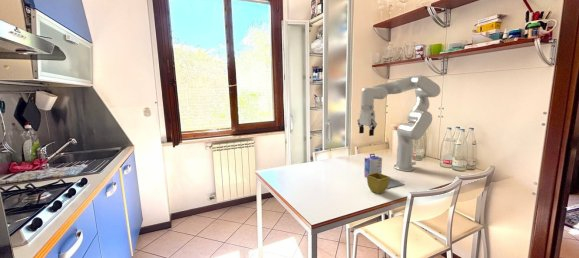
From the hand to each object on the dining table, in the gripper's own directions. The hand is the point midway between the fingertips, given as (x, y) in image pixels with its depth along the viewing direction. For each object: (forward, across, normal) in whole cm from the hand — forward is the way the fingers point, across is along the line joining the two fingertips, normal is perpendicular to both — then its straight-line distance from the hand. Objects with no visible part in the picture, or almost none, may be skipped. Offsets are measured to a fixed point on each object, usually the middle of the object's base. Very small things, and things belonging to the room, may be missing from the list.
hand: (366, 134), depth 161 cm
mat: (+26, -18, 0) cm, 32 cm away
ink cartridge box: (+26, -7, 0) cm, 27 cm away
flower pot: (+26, -26, +14) cm, 39 cm away
